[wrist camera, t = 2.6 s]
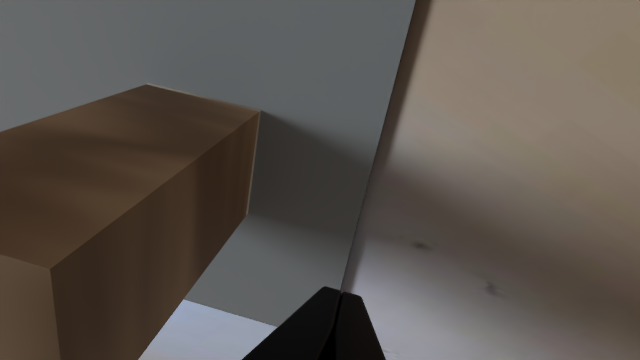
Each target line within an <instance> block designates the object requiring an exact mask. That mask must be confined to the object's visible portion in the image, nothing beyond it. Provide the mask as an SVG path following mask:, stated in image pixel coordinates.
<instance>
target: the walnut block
mask: <svg viewBox="0 0 640 360" xmlns="http://www.w3.org/2000/svg"><path fill="white" fill-rule="evenodd" d="M260 115H261V110H258V109H254V108H250V107H246V106H242V105H237V104H233V103H229V102H225V101H221V100H217V99H213V98H208V97H204V96H200V95H196V94H192V93H188V92H184V91H179V90H175V89H171V88H167V87H163V86H159V85H155V84H150V83H149V84H146V85H142V86H139V87H136V88H133V89H130V90H127V91H124V92H121V93H118V94H115V95H112V96H109V97H106V98H103V99H99V100H96V101H93V102H90V103H87V104H84V105H81V106H78V107H75V108H72V109H69V110H66V111H63V112H59V113H56V114H53V115H50V116H47V117H44V118H41V119H38V120H35V121H32V122H29V123H26V124H23V125H20V126H16V127H13V128H10V129H7V130H4V131H1V132H0V360H138V359H139V358H140V356H141V355H142V354H143V352H144V351H145V350H146V348H147V347H148V346H149V344H150V343H151V342H152V340H153V339H154V338H155V336H156V335H157V334H158V332H159V331H160V330H161V328H162V327H163V326H164V324H165V323H166V322H167V320H168V319H169V318H170V316H171V315H172V314H173V312H174V311H175V310H176V308H177V307H178V306H179V304H180V303H181V302H182V300H183V299H184V298H185V296H186V295H187V294H188V292H189V291H190V290H191V288H192V287H193V286H194V284H195V283H196V282H197V280H198V279H199V278H200V276H201V275H202V274H203V272H204V271H205V270H206V268H207V267H208V266H209V265H210V263H211V262H212V261H213V259H214V258H215V257H216V255H217V254H218V253H219V251H220V250H221V249H222V247H223V246H224V245H225V243H226V242H227V241H228V239H229V238H230V237H231V235H232V234H233V233H234V231H235V230H236V229H237V227H238V226H239V225H240V223H241V222H242V221H243V219H244V218H245V217H246V215H247V214H248V209H249V201H250V193H251V185H252V178H253V170H254V162H255V154H256V146H257V139H258V131H259V123H260Z"/></svg>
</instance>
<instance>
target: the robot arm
mask: <svg viewBox="0 0 640 360" xmlns="http://www.w3.org/2000/svg"><path fill="white" fill-rule="evenodd" d="M242 360H386V359H385V356H384V354H383V351H382V349H381V346H380V343H379V341H378V338H377V336H376V333H375V331H374V328H373V325H372V323H371V320H370V318H369V315H368V313H367V310H366V307H365V305H364V302H363V300H362V298H361V297H360V296H359V295H355V294H352V293H348V292H343V293H342V295H341V291H340V290H338V289H334V288H331V287H327V286H324V287H322V288H321V289H320V290H318V291H317V292H316V293H315V294H314V295H313V296H312V297H311V298H310V299H308V300H307V301H306V302H305V303H304V304H303V305H302V306H301V307H300V308H298V309H297V310H296V311H295V312H294V313H293V314H292V315H291V316H290V317H289V318H287V319H286V320H285V321H284V322H283V323H282V324H281V325H280V326H279V327H277V328H276V329H275V330H274V331H273V332H272V333H271V334H270V335H269V336H267V337H266V338H265V339H264V340H263V341H262V342H261V343H260V344H259V345H258V346H256V347H255V348H254V349H253V350H252V351H251V352H250V353H249V354H248V355H246V356H245V357H244V358H243V359H242Z"/></svg>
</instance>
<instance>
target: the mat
mask: <svg viewBox="0 0 640 360" xmlns="http://www.w3.org/2000/svg"><path fill="white" fill-rule="evenodd" d="M415 1H416V0H0V132H1V131H4V130H7V129H10V128H13V127H16V126H20V125H23V124H26V123H29V122H32V121H35V120H38V119H41V118H44V117H47V116H50V115H53V114H56V113H59V112H63V111H66V110H69V109H72V108H75V107H78V106H81V105H84V104H87V103H90V102H93V101H96V100H99V99H103V98H106V97H109V96H112V95H115V94H118V93H121V92H124V91H127V90H130V89H133V88H136V87H139V86H142V85H146V84H149V83H150V84H155V85H159V86H163V87H167V88H171V89H175V90H179V91H184V92H188V93H192V94H196V95H200V96H204V97H208V98H213V99H217V100H221V101H225V102H229V103H233V104H237V105H242V106H246V107H250V108H254V109H258V110H261V115H260V123H259V131H258V139H257V146H256V154H255V162H254V170H253V178H252V185H251V193H250V201H249V209H248V214H247V215H246V217H245V218H244V219H243V221H242V222H241V223H240V225H239V226H238V227H237V229H236V230H235V231H234V233H233V234H232V235H231V237H230V238H229V239H228V241H227V242H226V243H225V245H224V246H223V247H222V249H221V250H220V251H219V253H218V254H217V255H216V257H215V258H214V259H213V261H212V262H211V263H210V265H209V266H208V267H207V268H206V270H205V271H204V272H203V274H202V275H201V276H200V278H199V279H198V280H197V282H196V283H195V284H194V286H193V287H192V288H191V290H190V291H189V292H188V294H187V295H186V296H185V298H184V299H185V300H188V301H191V302H195V303H198V304H202V305H205V306H208V307H212V308H215V309H218V310H222V311H225V312H229V313H232V314H235V315H239V316H242V317H246V318H249V319H252V320H256V321H259V322H263V323H266V324H269V325H273V326H276V327H279V326H280V325H281V324H282V323H283V322H284V321H285V320H286V319H287V318H289V317H290V316H291V315H292V314H293V313H294V312H295V311H296V310H297V309H298V308H300V307H301V306H302V305H303V304H304V303H305V302H306V301H307V300H308V299H310V298H311V297H312V296H313V295H314V294H315V293H316V292H317V291H318V290H320V289H321V288H322V287H324V286H327V287H331V288H334V289H338V290H340V288H341V284H342V280H343V276H344V272H345V269H346V265H347V261H348V257H349V253H350V250H351V246H352V242H353V238H354V234H355V230H356V227H357V223H358V219H359V215H360V211H361V208H362V204H363V200H364V196H365V192H366V188H367V185H368V181H369V177H370V173H371V169H372V166H373V162H374V158H375V154H376V150H377V146H378V143H379V139H380V135H381V131H382V127H383V124H384V120H385V116H386V112H387V108H388V105H389V101H390V97H391V93H392V89H393V85H394V82H395V78H396V74H397V70H398V66H399V63H400V59H401V55H402V51H403V47H404V43H405V40H406V36H407V32H408V28H409V24H410V21H411V17H412V13H413V9H414V5H415Z"/></svg>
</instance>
